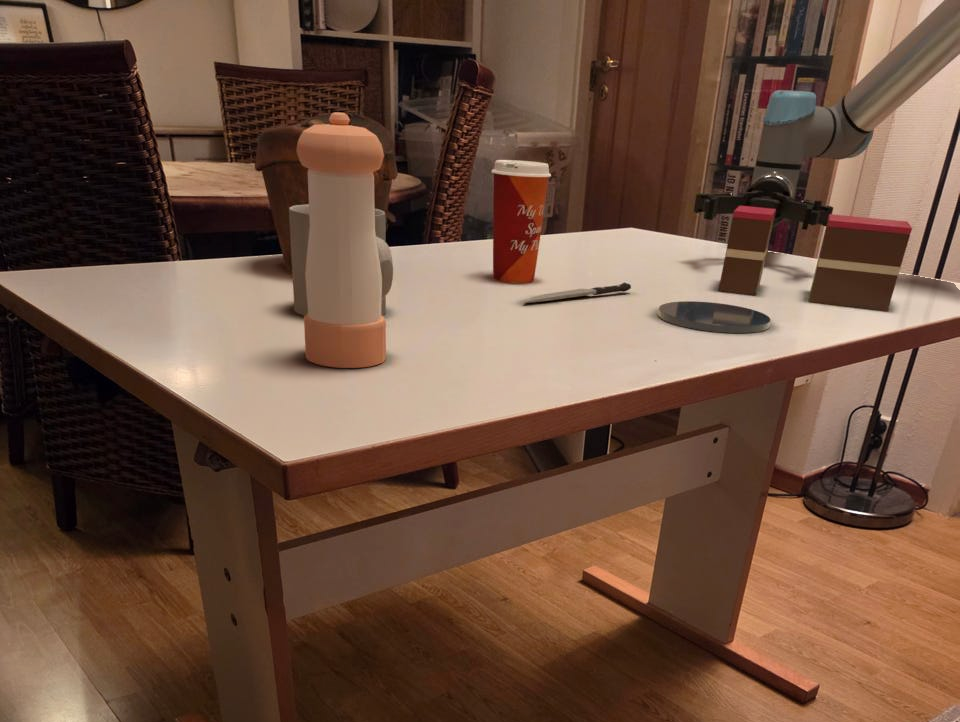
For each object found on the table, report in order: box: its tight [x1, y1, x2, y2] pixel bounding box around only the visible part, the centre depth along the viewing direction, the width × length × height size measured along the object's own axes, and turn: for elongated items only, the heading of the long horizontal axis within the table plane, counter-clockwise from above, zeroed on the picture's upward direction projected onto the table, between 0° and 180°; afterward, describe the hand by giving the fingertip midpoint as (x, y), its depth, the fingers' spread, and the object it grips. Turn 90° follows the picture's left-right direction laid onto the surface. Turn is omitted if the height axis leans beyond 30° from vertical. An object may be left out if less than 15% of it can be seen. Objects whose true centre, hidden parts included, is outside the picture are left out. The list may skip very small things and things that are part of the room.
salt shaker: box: [296, 111, 387, 369], centre depth 74 cm, size 7×7×19 cm
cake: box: [808, 213, 913, 312], centre depth 115 cm, size 10×8×10 cm
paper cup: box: [490, 159, 552, 284], centre depth 113 cm, size 8×8×14 cm
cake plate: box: [657, 300, 771, 334], centre depth 102 cm, size 13×13×1 cm
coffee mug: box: [289, 204, 394, 317], centre depth 91 cm, size 13×10×10 cm
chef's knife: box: [523, 282, 632, 304], centre depth 109 cm, size 19×1×3 cm
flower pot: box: [254, 112, 399, 272], centre depth 111 cm, size 18×20×18 cm
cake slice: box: [718, 206, 776, 296], centre depth 118 cm, size 5×8×10 cm, turn 161°
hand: (758, 214), depth 124 cm, fingers open, 13 cm apart
